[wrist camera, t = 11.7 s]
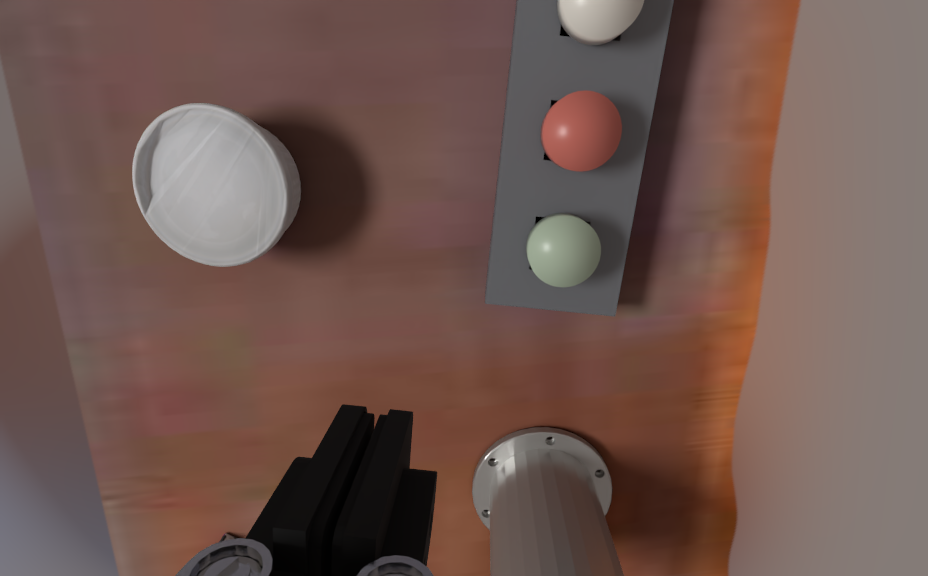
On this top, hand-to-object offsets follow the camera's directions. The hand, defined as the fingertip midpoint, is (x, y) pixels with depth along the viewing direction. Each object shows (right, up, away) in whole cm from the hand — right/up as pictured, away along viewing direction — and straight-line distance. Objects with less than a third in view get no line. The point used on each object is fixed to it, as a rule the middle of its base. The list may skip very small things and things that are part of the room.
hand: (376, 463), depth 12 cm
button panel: (+10, +16, +25) cm, 31 cm away
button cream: (+11, +23, +23) cm, 34 cm away
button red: (+10, +16, +25) cm, 31 cm away
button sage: (+9, +8, +27) cm, 30 cm away
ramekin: (-15, +13, +28) cm, 34 cm away
